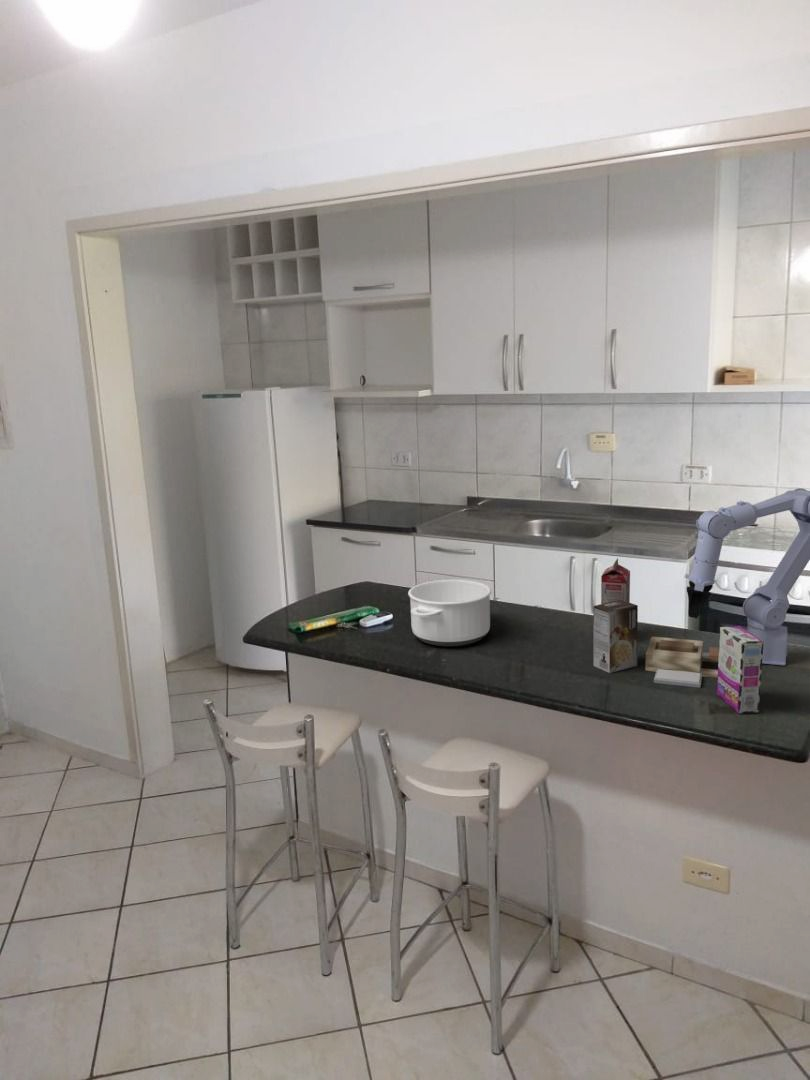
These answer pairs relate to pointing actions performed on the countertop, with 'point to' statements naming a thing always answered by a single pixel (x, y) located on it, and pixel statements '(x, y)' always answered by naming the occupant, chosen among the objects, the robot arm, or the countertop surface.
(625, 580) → the juice carton
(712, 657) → the lever
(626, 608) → the coffee box
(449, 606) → the pot
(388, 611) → the countertop surface
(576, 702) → the countertop surface
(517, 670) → the countertop surface
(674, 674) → the grey pad
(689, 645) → the walnut block
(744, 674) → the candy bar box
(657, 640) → the pocket board
